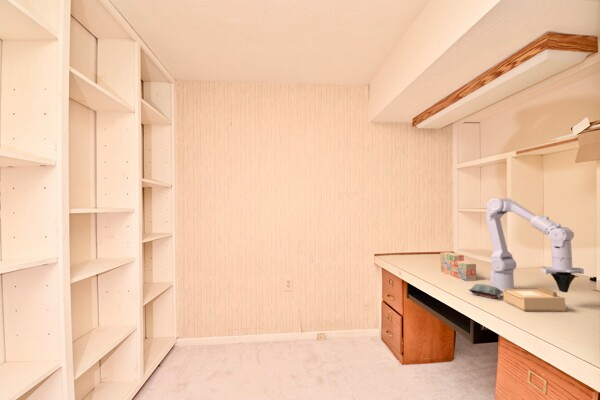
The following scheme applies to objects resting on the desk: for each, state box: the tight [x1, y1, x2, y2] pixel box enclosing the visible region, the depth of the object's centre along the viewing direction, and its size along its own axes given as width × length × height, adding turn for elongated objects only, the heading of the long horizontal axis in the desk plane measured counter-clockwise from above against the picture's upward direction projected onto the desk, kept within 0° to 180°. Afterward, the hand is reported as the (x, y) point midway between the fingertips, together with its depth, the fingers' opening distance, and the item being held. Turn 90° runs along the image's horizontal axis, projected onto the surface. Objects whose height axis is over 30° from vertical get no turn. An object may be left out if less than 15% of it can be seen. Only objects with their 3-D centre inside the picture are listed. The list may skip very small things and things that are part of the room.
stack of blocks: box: [440, 251, 477, 282], centre depth 155 cm, size 21×6×12 cm, turn 7°
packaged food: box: [468, 283, 504, 299], centre depth 120 cm, size 9×12×5 cm
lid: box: [506, 286, 561, 299], centre depth 107 cm, size 8×15×2 cm, turn 88°
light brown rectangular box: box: [502, 288, 566, 313], centre depth 107 cm, size 11×15×5 cm
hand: (563, 291), depth 106 cm, fingers closed
